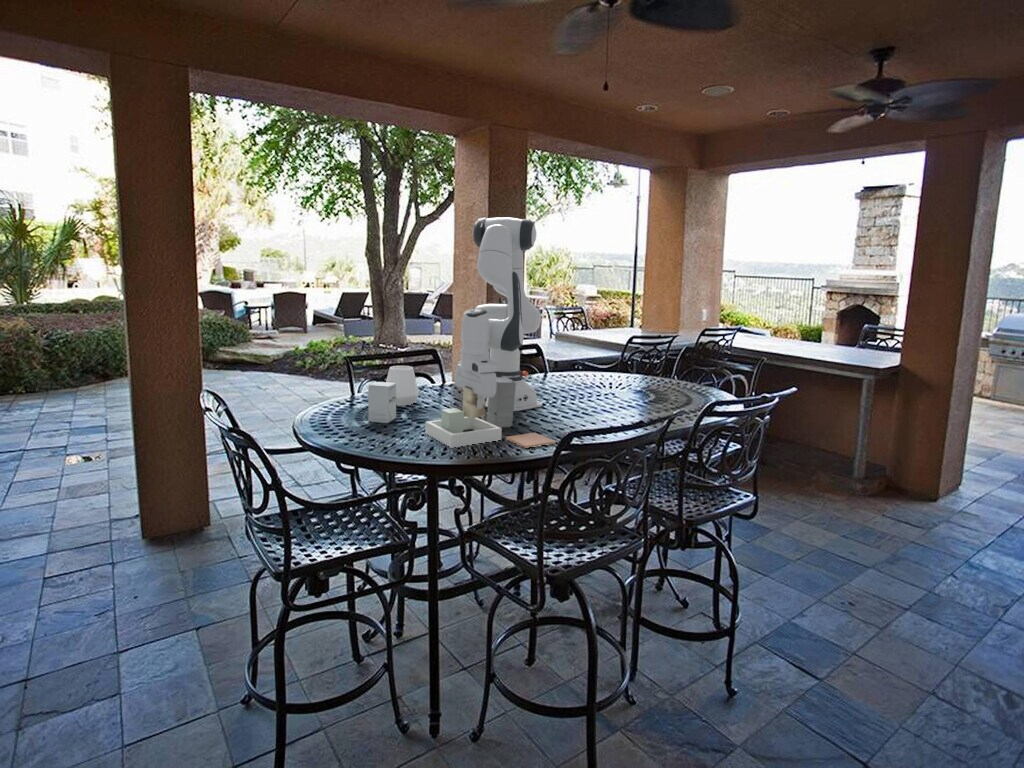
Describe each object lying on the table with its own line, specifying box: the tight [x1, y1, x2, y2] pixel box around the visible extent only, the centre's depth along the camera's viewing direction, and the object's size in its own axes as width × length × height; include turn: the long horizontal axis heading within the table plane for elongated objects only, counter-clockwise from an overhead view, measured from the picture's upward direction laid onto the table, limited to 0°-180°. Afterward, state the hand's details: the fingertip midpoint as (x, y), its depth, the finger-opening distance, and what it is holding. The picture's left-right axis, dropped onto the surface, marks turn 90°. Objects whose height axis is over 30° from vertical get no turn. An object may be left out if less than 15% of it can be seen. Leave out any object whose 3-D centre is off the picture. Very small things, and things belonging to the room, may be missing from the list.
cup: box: [385, 365, 420, 407], centre depth 237 cm, size 13×13×14 cm
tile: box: [505, 432, 556, 449], centre depth 192 cm, size 11×11×1 cm
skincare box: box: [486, 377, 516, 428], centre depth 210 cm, size 8×7×16 cm
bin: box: [424, 416, 503, 449], centre depth 194 cm, size 17×17×4 cm
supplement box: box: [367, 381, 397, 424], centre depth 211 cm, size 7×7×13 cm
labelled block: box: [462, 386, 486, 418], centre depth 195 cm, size 5×5×9 cm
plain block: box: [440, 407, 465, 434], centre depth 192 cm, size 5×5×9 cm
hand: (473, 405), depth 195 cm, fingers closed on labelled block, 5 cm apart
